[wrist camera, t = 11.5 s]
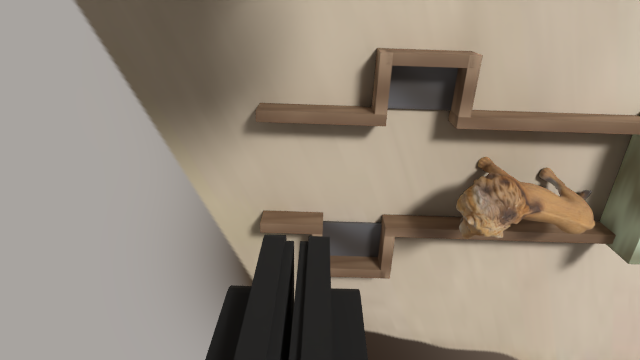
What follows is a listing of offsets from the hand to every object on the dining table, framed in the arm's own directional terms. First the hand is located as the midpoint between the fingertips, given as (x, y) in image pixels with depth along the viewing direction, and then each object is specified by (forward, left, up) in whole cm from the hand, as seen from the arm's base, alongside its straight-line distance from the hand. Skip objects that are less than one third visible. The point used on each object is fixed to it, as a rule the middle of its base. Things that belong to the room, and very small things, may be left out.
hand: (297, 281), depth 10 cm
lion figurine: (+9, +19, -27) cm, 34 cm away
